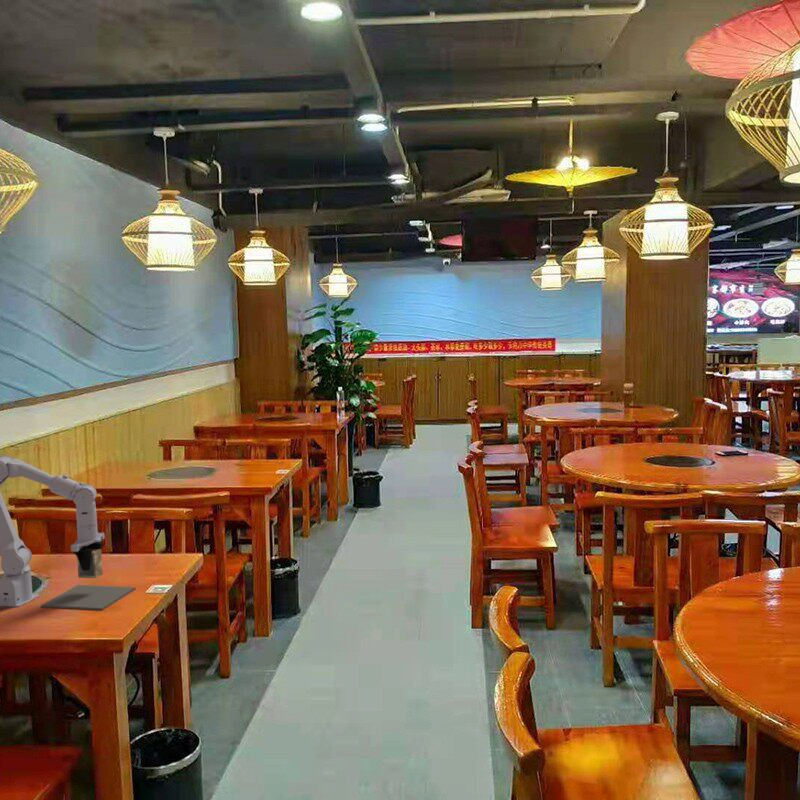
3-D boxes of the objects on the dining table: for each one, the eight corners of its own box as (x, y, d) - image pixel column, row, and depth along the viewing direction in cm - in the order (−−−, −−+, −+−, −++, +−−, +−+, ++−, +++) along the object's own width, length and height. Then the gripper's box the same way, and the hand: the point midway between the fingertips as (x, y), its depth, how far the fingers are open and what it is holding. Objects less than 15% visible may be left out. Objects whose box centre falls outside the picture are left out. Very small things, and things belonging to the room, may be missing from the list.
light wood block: (95, 578, 230) (94, 552, 230) (78, 577, 231) (76, 552, 231) (102, 574, 234) (101, 549, 233) (85, 574, 235) (83, 548, 234)
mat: (102, 610, 218) (102, 608, 218) (41, 607, 222) (40, 605, 222) (135, 589, 236) (135, 587, 236) (77, 586, 240) (77, 585, 239)
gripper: (84, 531, 223) (87, 575, 225) (112, 519, 238) (114, 561, 239) (63, 530, 225) (66, 575, 226) (92, 518, 239) (94, 560, 240)
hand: (89, 568), depth 232 cm, fingers closed on light wood block, 4 cm apart
